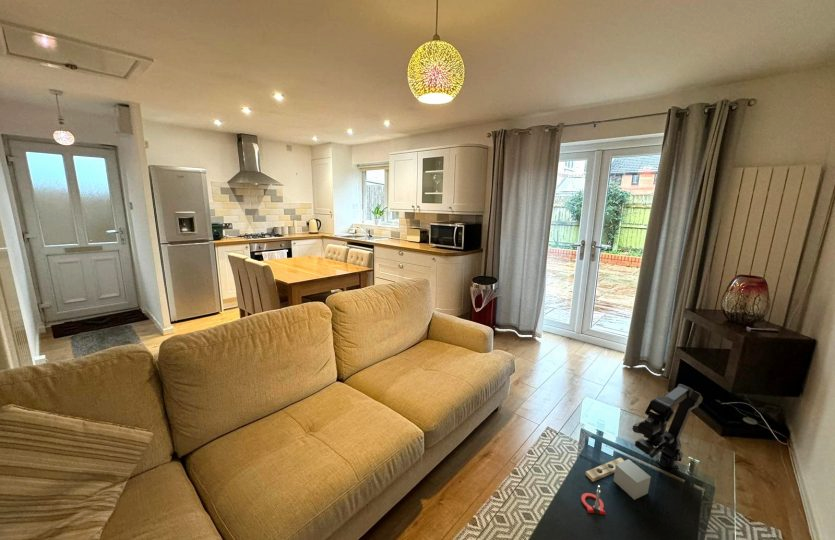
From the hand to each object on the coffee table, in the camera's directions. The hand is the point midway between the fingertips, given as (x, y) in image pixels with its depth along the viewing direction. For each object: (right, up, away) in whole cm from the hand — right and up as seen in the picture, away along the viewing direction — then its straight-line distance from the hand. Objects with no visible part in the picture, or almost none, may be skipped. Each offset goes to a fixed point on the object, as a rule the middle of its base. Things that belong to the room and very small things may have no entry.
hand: (651, 457), depth 145 cm
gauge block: (-10, -13, -1) cm, 16 cm away
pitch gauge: (-15, -11, +8) cm, 20 cm away
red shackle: (-31, -15, -8) cm, 35 cm away
